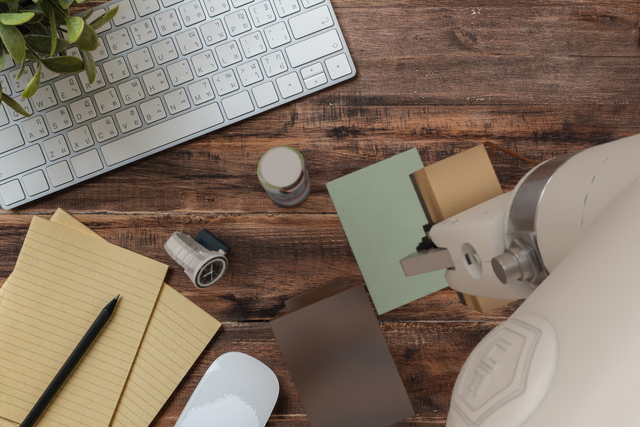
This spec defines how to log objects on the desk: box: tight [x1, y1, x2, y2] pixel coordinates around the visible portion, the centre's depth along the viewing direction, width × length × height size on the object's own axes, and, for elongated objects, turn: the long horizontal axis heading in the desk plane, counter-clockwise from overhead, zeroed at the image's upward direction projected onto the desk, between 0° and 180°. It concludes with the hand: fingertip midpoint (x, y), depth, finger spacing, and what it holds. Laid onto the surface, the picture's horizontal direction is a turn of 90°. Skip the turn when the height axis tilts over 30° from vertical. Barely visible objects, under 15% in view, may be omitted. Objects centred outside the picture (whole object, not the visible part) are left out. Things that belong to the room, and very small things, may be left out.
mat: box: [324, 146, 450, 316], centre depth 68 cm, size 20×14×1 cm
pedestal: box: [268, 275, 416, 427], centre depth 57 cm, size 14×10×20 cm
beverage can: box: [256, 145, 312, 210], centre depth 62 cm, size 6×7×12 cm
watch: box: [163, 228, 232, 290], centre depth 61 cm, size 6×8×11 cm
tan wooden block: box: [409, 143, 520, 315], centre depth 39 cm, size 12×5×5 cm, turn 22°
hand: (463, 228), depth 41 cm, fingers closed on tan wooden block, 5 cm apart
